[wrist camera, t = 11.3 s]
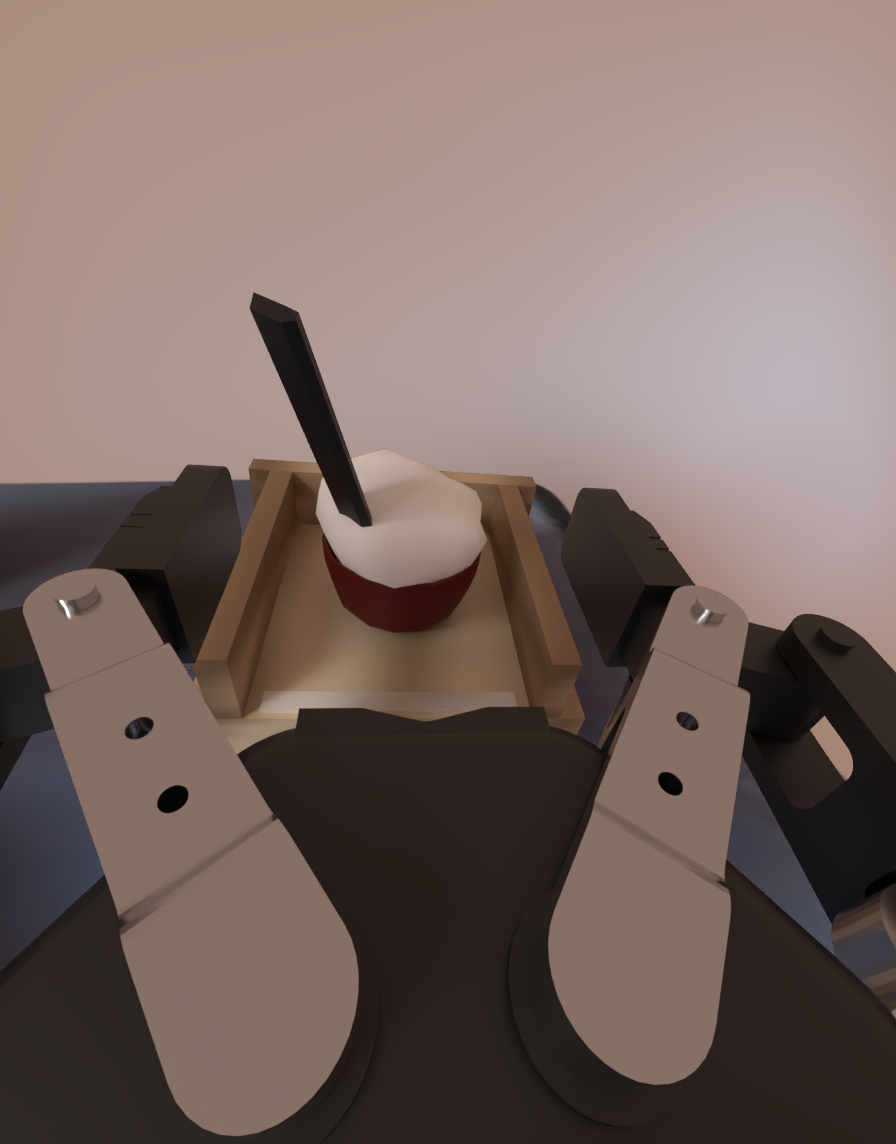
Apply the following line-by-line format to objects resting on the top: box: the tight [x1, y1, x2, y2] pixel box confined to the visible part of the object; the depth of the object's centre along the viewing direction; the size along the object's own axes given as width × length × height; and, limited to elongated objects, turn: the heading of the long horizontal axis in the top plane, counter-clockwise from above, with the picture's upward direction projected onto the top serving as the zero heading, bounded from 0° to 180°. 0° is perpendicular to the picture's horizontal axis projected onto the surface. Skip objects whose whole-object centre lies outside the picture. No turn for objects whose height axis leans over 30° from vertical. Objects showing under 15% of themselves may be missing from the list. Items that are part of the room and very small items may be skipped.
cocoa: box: [250, 293, 487, 633], centre depth 18 cm, size 10×6×12 cm, turn 116°
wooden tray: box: [192, 459, 585, 754], centre depth 21 cm, size 14×12×6 cm
